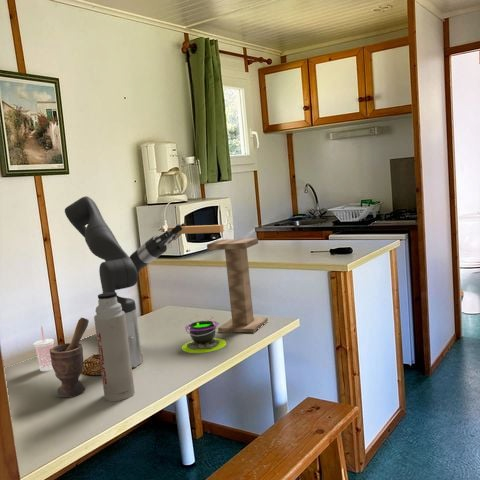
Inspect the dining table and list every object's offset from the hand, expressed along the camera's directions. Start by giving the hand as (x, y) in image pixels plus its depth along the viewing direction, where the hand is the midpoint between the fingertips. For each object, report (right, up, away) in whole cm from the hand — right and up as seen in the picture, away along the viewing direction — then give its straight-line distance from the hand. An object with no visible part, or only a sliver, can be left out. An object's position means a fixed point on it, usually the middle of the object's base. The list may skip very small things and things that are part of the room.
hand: (182, 225), depth 202 cm
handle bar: (+5, -3, -2) cm, 6 cm away
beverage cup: (-40, -47, -29) cm, 68 cm away
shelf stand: (+22, -37, -3) cm, 44 cm away
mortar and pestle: (-25, -48, -51) cm, 74 cm away
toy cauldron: (+9, -41, -21) cm, 47 cm away
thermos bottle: (-11, -47, -57) cm, 75 cm away
